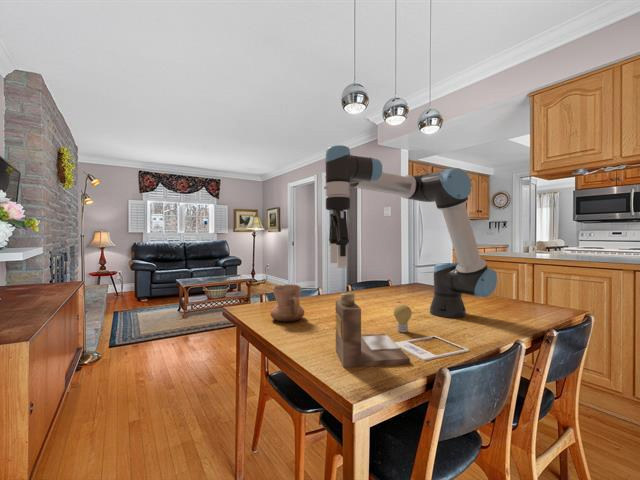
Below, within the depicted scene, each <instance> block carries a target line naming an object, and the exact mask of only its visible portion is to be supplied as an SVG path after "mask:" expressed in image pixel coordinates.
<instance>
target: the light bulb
mask: <svg viewBox="0 0 640 480" xmlns="http://www.w3.org/2000/svg"><path fill="white" fill-rule="evenodd" d="M412 315H413V313H412V309H411V307H410V306H408V305H406V304H397V306H395V307H394V309H393V316H394V318H395V320H396V321H397V323H396V324H397V326H396V327H397V332H399V333H407V332H408V330H409V329H408V327H409V324H408V322H409V321H410V319H411V318H412Z"/></svg>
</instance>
